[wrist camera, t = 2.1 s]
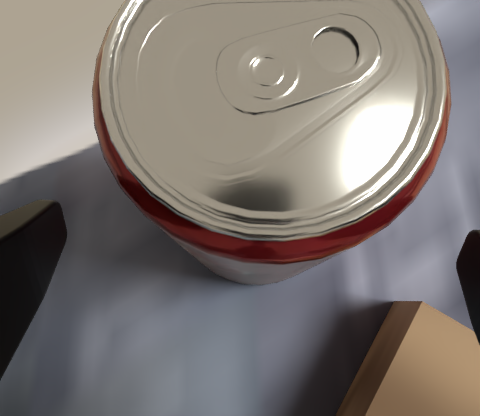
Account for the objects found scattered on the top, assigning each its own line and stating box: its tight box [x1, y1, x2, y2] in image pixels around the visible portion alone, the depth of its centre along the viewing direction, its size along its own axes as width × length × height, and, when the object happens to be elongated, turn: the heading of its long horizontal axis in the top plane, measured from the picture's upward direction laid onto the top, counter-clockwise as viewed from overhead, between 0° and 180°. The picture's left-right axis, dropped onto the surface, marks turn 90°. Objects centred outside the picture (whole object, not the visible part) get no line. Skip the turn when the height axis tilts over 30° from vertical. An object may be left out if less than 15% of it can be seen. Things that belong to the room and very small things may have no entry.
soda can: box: [92, 0, 451, 285], centre depth 14 cm, size 7×7×12 cm
